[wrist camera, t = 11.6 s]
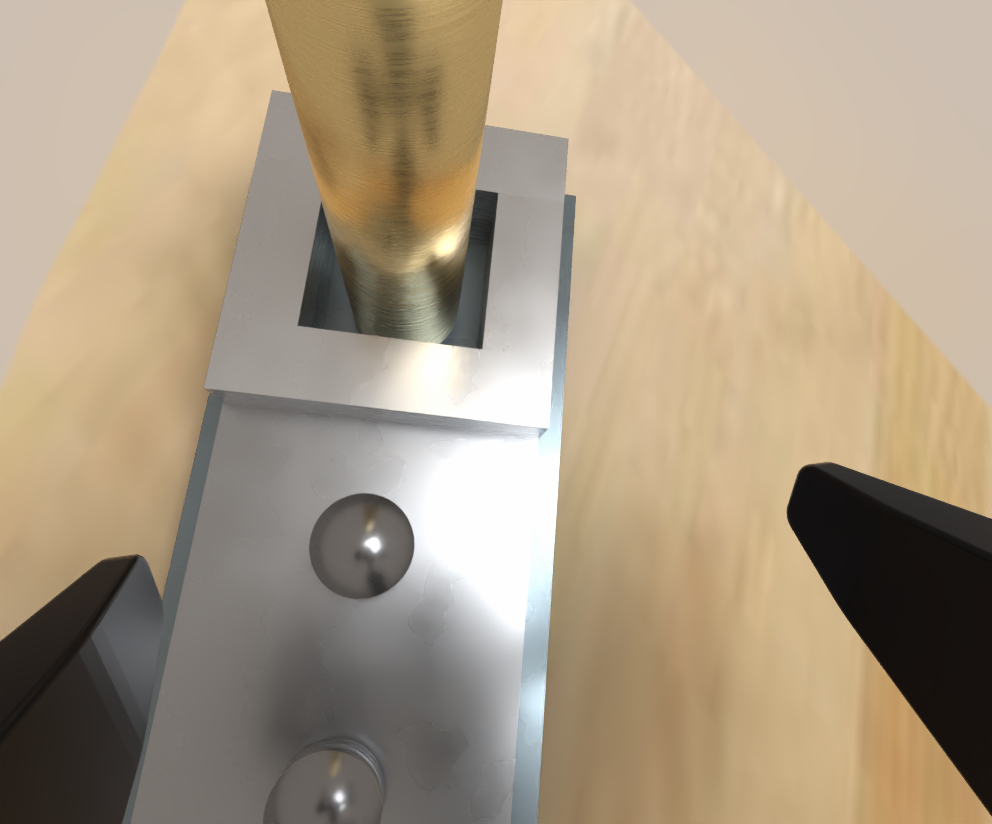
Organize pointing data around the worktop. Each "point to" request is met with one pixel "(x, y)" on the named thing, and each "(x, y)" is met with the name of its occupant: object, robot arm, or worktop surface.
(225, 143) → the worktop surface
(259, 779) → the tiered gray console
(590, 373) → the worktop surface
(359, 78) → the pin
